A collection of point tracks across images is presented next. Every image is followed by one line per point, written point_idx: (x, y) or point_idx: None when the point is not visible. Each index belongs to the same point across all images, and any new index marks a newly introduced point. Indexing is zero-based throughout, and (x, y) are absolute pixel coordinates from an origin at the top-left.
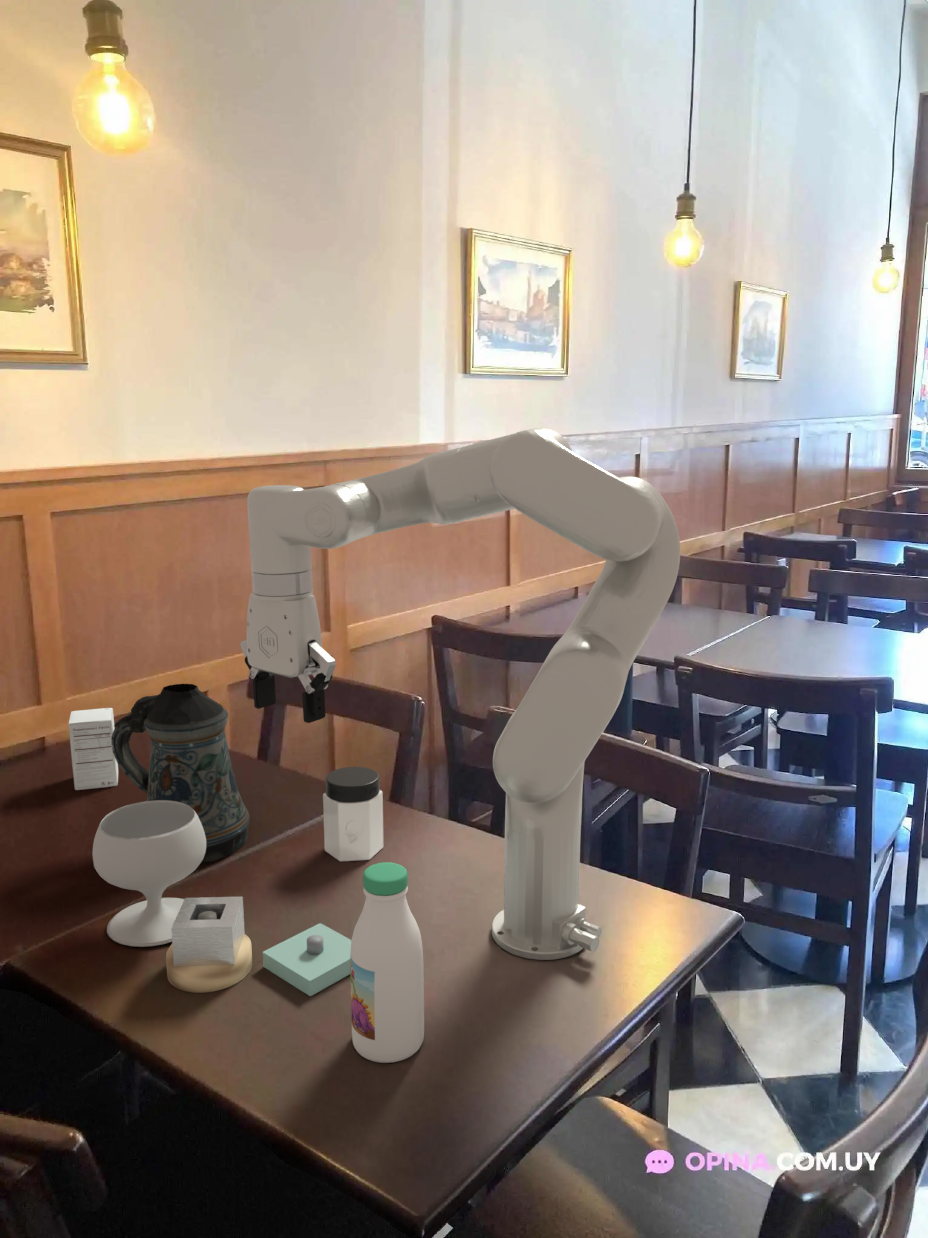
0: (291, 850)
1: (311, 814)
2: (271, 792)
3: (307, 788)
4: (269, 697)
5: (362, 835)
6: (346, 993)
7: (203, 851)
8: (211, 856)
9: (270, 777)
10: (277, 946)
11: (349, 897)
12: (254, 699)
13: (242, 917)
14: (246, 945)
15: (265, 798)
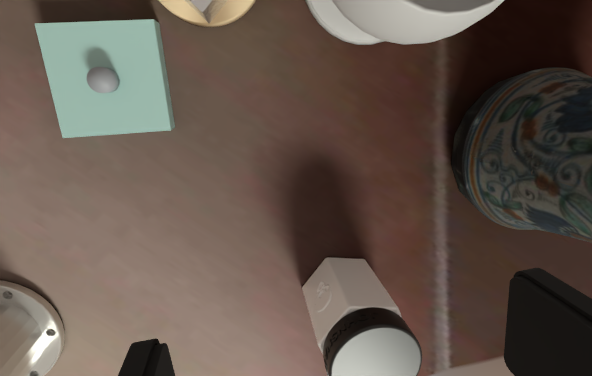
0: (398, 228)
1: (459, 300)
2: None
3: None
4: (535, 361)
5: (313, 301)
6: (25, 69)
7: (337, 4)
8: (459, 133)
9: None
10: (153, 45)
11: (238, 214)
12: (569, 289)
13: (197, 10)
14: (175, 4)
15: None
